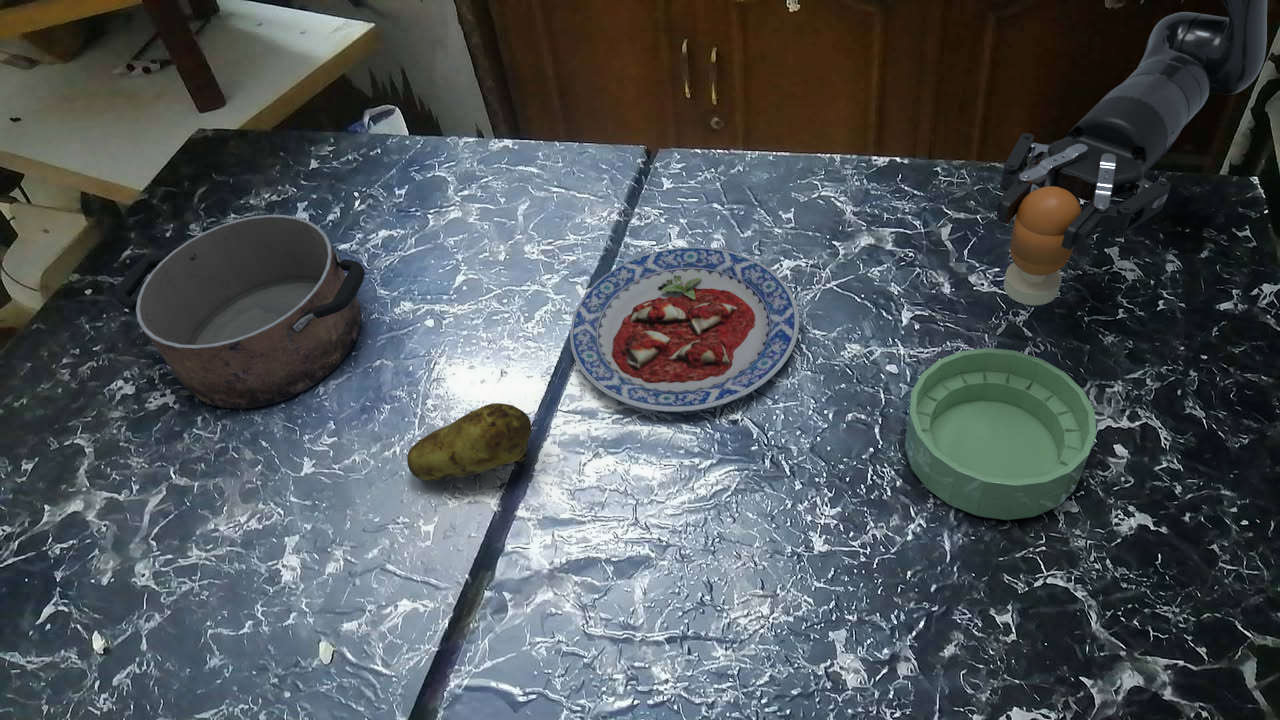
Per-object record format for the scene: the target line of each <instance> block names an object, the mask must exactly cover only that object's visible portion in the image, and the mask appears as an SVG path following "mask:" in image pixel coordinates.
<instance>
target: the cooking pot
mask: <svg viewBox="0 0 1280 720" xmlns="http://www.w3.org/2000/svg"><path fill="white" fill-rule="evenodd" d="M151 270H152V271H151ZM345 272H347V273H345ZM365 273H366V271H365V269H364V267H363V265H362V264H361V263H360V262H358V261H357V260H354V259H353V260H352V259H347V258H343V259H341V256H340V254H338V252H335V250H334V248H333V246H332V244H331V242H330V239H329V237H328V235H327V234H326V233H325V232H324V230H323V229H321V227H319V225H317V224H315V223H313V222H311V221H310V220H307V219H304V218H301V217H298V216H292V215H286V214H263V215H255V216H249V217H244V218H240V219H236V220H233V221H230V222H226V223H223V224H220V225H218V226H215V227H213V228H211V229H208V230H206V231H204V232H201V233H200V234H198V235H197V236H194V237H193V238H191V239H189V240H187V241H185V243H183V244H181V245H180V246H178V247H177V248H176V249H174V250H173V251H172V252H170V253H169V254H163V255H162V254H161V255H151V256H148V257H145V258H143V259H141V260H140V261H138V262H137V263H136V264H135V265H134V266H133V267H132V268H131V269H130V270H129V271H128V273H126V275H125V276H124V278H123V279H122V280H121V282H119V284H118V286H117V288H116V290H115V293H114V297H115V300H116V301H117V302H118V303H119V304H120V305H122V306H123V307H125V308H127V309H129V310H130V311H133V312H135V313H136V319H137V322H138V324H139V326H140V327H141V329H142V331H143V332H144V334H145V335H146V337H148V339H149V341H150V342H151V343H152V344H153V346H154V347H155V348H156V350H157V352H158V353H159V354H160V356H161V357H162V358H163V360H164V361H165V362H166V364H167V365H168V366H169V368H170V369H171V371H172V372H173V373H174V374H175V376H176V377H177V379H178V381H180V383H181V384H182V385H183V387H184V388H185V389H186V390H187V391H188V392H189V393H190V394H191V395H192V396H194V398H196V399H197V400H198V401H199V400H200V401H201V402H203V403H205V404H207V405H211V406H215V407H219V408H223V409H225V408H226V409H243V410H244V409H251V408H252V409H254V408H260V407H266V406H269V405H273V404H277V403H280V402H282V401H285V400H288V399H290V398H293V397H295V396H297V395H299V394H301V393H303V392H306V391H307V390H309V389H310V388H312V387H314V386H315V385H317V384H318V383H319V382H321V381H322V380H324V379H325V378H326V377H327V376H328V375H330V373H332V372H333V371H334V370H336V369H337V367H338V366H339V365H340V364H341V363H342V361H344V360H345V358H346V357H347V356H348V354H349V352H350V351H351V349H352V348H353V346H354V344H355V342H356V340H357V338H358V335H359V333H360V329H361V323H362V312H361V306H360V302H359V301H358V298H357V293H358V292H359V290H360V288H361V286H362V284H363V282H364V279H365V275H366V274H365ZM147 276H148V277H147ZM146 277H147V278H146ZM145 279H146V280H145ZM144 280H145V281H144ZM143 281H144V283H143V284H142V282H143ZM141 284H142V286H141V288H140V291H139V294H138V296H137V299H134V298H131V297H132V296H133V295H134V294H135V292H136V291H137V289H138V288H139V287H140V285H141Z"/></svg>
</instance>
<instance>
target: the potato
mask: <svg viewBox="0 0 1280 720" xmlns="http://www.w3.org/2000/svg"><path fill="white" fill-rule="evenodd" d="M530 419H531V418H530V417H529V415H528V414H526V412H524V411H523V410H522V409H520V408H518V407H516V406H515V405H513V404H508V403H500V402H495V403H490V404H486V405H483V406H481V407H479V408H476V409H474V410H470V412H468V413H467V414H465V415H463V416H461V417H459V418H457V420H455V421H453V422H452V423H450V424H448V425H445V426H443V427H441V428H438V429H436V430H433V432H430V433H428V434H427V435H425V436H424V437H421V439H418V441H416V442H415V443H414V444H413V445H412V446H411V447H410V449H409V450H408V452H407V455H406V456H407V457H406V461H407V467H408V470H409V472H410V473H411V474H412V476H414V477H415V478H416V479H420V480H423V481H426V482H435V481H440V480H442V479H447V480H448V479H451V478H461V477H469V476H474V475H478V474H481V473H484V472H486V471H490V470H493V469H496V468H498V467H501V466H505V465H508V464H511V463H514V462H515V463H521V462H523V461H525V460H526V459H527V458H528V457H527V453H526V452H527V450H528V447H529V441H530V438H531V435H532V422H531V420H530Z"/></svg>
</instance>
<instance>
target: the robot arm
mask: <svg viewBox="0 0 1280 720" xmlns="http://www.w3.org/2000/svg"><path fill="white" fill-rule="evenodd" d="M1220 2H1222V3H1223V4H1224V6H1225V9H1226V12H1227V17H1226V16H1218V15H1211V14H1206V13H1197V12H1192V11H1191V12H1190V11H1179V12H1175V13H1173V14H1170V15H1167V16H1165V17H1164V18H1162V19H1161V20H1160V21H1158V22H1157V23H1156V25H1155V26H1154V28H1153V29H1152V31H1151V33H1150V35H1149V37H1148V40H1147V42H1146V46H1145V49H1144V52H1143V56H1142V58H1141V60H1140V61H1139V63H1138V65H1137V67H1136V69H1135V70H1134V71H1133V72H1132V73H1131V74H1130V75H1129V76H1127V78H1126V79H1124V80H1123V82H1121V84H1120V83H1119V85H1117V86H1116V87H1114V88H1113V89H1112V90H1110V91H1109V92H1108V93H1106V94H1105V95H1104V96H1103V97H1102V98H1101V99H1100V101H1098V102H1097V103H1096V104H1095V105H1094V106H1093V107H1092V108H1091V109H1089V111H1088V112H1087V113H1086V114H1085V115H1084V116H1083V117H1082V118H1081V119H1080V120H1079V121H1078V122H1077V123H1076V124H1075V125H1074V126H1073V127H1072V128H1071V129H1070V131H1069V132H1067V134H1066V135H1065V137H1064V138H1062V139H1059V140H1057V141H1054V142H1052V143H1050V145H1047V144H1042V143H1038V142H1034V141H1035V135H1034V134H1032V133H1030V132H1025V133H1022V134H1020V136H1019V138H1018V140H1017V141H1016V143H1015V145H1014V147H1013V148H1012V151H1010V153H1009V156H1008V157H1007V159H1006V161H1005V163H1004V164H1003V170H1002V174H1001V180H1000V185H999V189H1000V190H1001V191H1003V192H1004V193H1003V194H1001V196H999V199H998V204H997V209H996V212H995V213H996V215H998V217H997V221H998V223H1002V224H1004V225H1007V224H1008V223H1009V222H1010V221H1011V220H1012V219H1013V218H1015V217H1016V214H1017V210H1018V207H1019V205H1020V203H1021V202H1022V201H1023V199H1024V198H1025V197H1026V196H1027V195H1028V194H1029V193H1031V192H1033V191H1034V190H1036V189H1039V188H1042V187H1048V186H1055V187H1060V188H1063V189H1065V190H1067V191H1069V192H1070V193H1072V194H1073V195H1074V196H1075V198H1078V199H1079V200H1082V201H1085V202H1086V203H1089V205H1087V206H1086V207H1085V208H1084V209H1083V210H1081V213H1080V214H1079V216H1078V217H1077V218H1076V219H1075V220H1074V221H1073V222H1072V223H1071V224H1070V225H1069V226H1068V228H1067V229H1066V231H1065V234H1064V238H1063V242H1062V245H1061V247H1063V248H1066V249H1068V250H1071V249H1072V247H1073V246H1074V247H1077V248H1080V247H1082V246H1084V245H1085V244H1086V243H1087V242H1088V241H1089V240H1090V239H1091V238H1092V236H1093V235H1094V234H1095V233H1096V232H1098V231H1101V230H1102V229H1110V231H1111V232H1112V233H1113V234H1115V235H1117V236H1123V235H1125V234H1127V233H1129V232H1130V231H1131V230H1133V229H1134V228H1135V227H1137V226H1139V225H1140V224H1142V223H1144V222H1145V221H1146V220H1148V219H1150V218H1151V217H1153V216H1155V214H1157V213H1159V212H1160V211H1161V210H1163V208H1164V206H1165V203H1166V200H1167V198H1168V195H1169V193H1170V189H1171V187H1172V183H1171V182H1170V181H1169V180H1166V179H1157V180H1156V181H1154V182H1152V181H1150V180H1148V179H1146V178H1144V176H1145V175H1146V174H1147V173H1148V172H1149V170H1151V169H1152V167H1153V166H1154V165H1155V164H1156V162H1158V161H1159V160H1160V159H1161V157H1162V156H1164V155H1166V153H1167V152H1169V150H1170V148H1171V147H1172V145H1173V144H1174V143H1175V141H1176V140H1177V138H1179V136H1180V133H1181V131H1182V130H1183V129H1184V128H1185V127H1186V126H1187V125H1188V124H1189V122H1191V120H1192V119H1193V118H1194V117H1195V116H1196V114H1197V113H1199V111H1200V110H1201V109H1202V108H1203V106H1204V105H1205V103H1206V101H1207V100H1208V97H1209V95H1210V93H1211V94H1216V95H1224V96H1229V95H1230V96H1231V95H1235V94H1238V93H1240V92H1241V91H1244V90H1245V89H1246V88H1247V87H1249V86H1250V85H1251V84H1252V83H1253V82H1254V81H1255V80H1256V78H1257V76H1258V75H1259V74H1260V72H1261V70H1262V67H1263V66H1264V62H1265V59H1266V54H1267V53H1266V52H1267V43H1268V34H1267V33H1268V17H1267V16H1268V0H1220ZM1039 160H1041V161H1040V162H1039V163H1038V164H1037V165H1036V166H1035V167H1032V165H1033V164H1035V163H1037V161H1039ZM1031 167H1032V168H1031ZM1030 168H1031V169H1030ZM1025 169H1028V170H1025ZM1134 193H1135V194H1134ZM1131 194H1134V195H1132V196H1131V197H1129V198H1128V199H1126V200H1125V201H1123V202H1121V203H1120V204H1119V205H1118V206H1114V205H1110V204H1111V199H1113V198H1118V197H1123V196H1127V195H1131ZM1074 247H1073V248H1074Z"/></svg>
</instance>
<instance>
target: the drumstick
mask: <svg viewBox="0 0 1280 720" xmlns="http://www.w3.org/2000/svg"><path fill="white" fill-rule="evenodd" d="M1081 212H1082V207H1081V205H1080V203H1079V200H1078V199H1077V197H1076V196H1074V195H1073V194H1072V193H1070V192H1069V191H1067V190H1065V189H1063V188H1060V187H1055V186H1048V187H1042V188H1039V189H1036V190H1034V191H1033V192H1031V193H1029V194H1028V195H1027V196H1026V197H1025V198H1024V199H1023V201H1022V202H1021V203H1020V205H1019V207H1018V210H1017V214H1016V215H1015V217H1014V223H1013V228H1012V233H1011V237H1010V241H1009V254H1010V257H1011V260H1012V263H1010V264H1009V266H1008V267H1007V269H1006V271H1005V275H1004V280H1003V290H1004V292H1005V293H1006V295H1007V296H1008V297H1009V298H1010V299H1012V300H1013V301H1015V302H1017V303H1020V304H1023V305H1026V306H1042V305H1046V304H1048V303H1051V302H1053V301H1054V300H1055V299H1056V298H1057V296H1058V295H1059V291H1060V287H1061V284H1062V280H1063V279H1062V274H1061V272H1060V270H1061V269H1063V268H1064V267H1065V266H1066V264H1067V263H1068V262H1069V260H1070V259H1071V257H1072V254H1073V252H1074V248H1075V246H1073V247H1072V249H1071V250H1068V249H1066V248H1063V247H1061V245H1062V242H1063V238H1064V234H1065V231H1066V229H1067V228H1068V226H1069V225H1070V224H1071V223H1072V222H1073V221H1074V220H1075V219H1076V218H1077V217H1078V216H1079V214H1080V213H1081Z"/></svg>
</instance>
